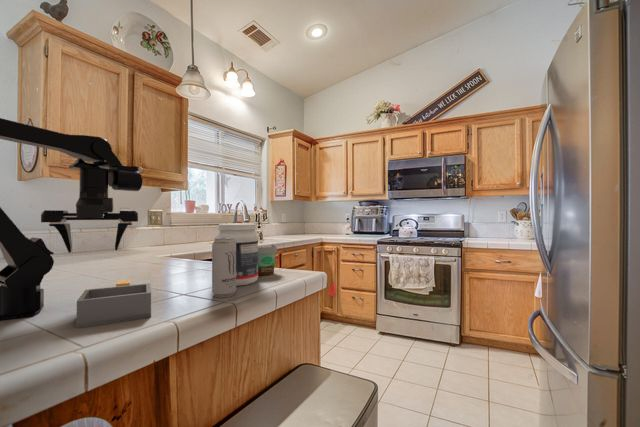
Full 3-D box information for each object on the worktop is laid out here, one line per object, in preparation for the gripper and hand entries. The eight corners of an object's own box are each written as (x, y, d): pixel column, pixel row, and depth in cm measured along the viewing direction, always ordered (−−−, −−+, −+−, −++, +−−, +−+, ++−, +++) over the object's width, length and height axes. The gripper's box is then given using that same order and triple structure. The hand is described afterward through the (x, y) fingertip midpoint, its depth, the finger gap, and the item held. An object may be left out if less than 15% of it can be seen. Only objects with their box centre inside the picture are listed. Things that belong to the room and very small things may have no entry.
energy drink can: (226, 298, 75) (226, 239, 75) (206, 296, 77) (207, 238, 77) (240, 293, 81) (240, 237, 81) (222, 291, 83) (222, 236, 83)
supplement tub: (206, 283, 92) (206, 223, 92) (239, 276, 102) (239, 223, 103) (234, 289, 85) (234, 224, 85) (266, 281, 95) (266, 223, 95)
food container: (258, 278, 99) (258, 248, 99) (246, 276, 103) (246, 247, 103) (284, 273, 109) (284, 245, 109) (272, 271, 112) (272, 244, 112)
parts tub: (76, 328, 55) (76, 301, 55) (85, 313, 64) (85, 289, 64) (151, 317, 61) (151, 292, 62) (150, 304, 70) (150, 283, 70)
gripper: (33, 183, 63) (33, 257, 63) (137, 187, 72) (137, 252, 72) (48, 187, 72) (47, 252, 72) (138, 191, 82) (137, 248, 82)
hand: (93, 251), depth 74 cm, fingers open, 9 cm apart
